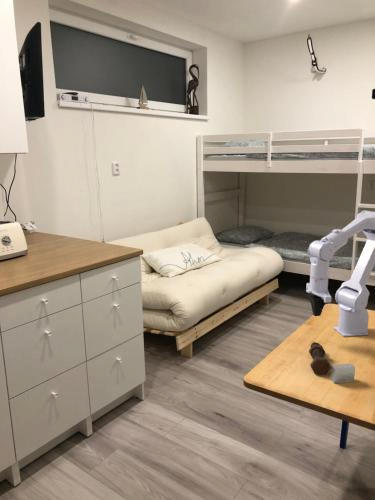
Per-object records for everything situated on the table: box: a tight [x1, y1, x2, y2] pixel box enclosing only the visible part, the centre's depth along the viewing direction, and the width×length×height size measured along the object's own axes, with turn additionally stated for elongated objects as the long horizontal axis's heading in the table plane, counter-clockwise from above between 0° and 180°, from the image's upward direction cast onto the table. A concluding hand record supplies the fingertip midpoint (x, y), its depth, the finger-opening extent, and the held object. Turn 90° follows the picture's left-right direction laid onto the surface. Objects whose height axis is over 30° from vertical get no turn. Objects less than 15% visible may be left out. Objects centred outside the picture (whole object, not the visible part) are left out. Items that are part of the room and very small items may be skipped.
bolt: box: [308, 341, 332, 376], centre depth 126 cm, size 6×5×15 cm
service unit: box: [330, 363, 356, 384], centre depth 116 cm, size 6×2×4 cm, turn 98°
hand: (316, 315), depth 138 cm, fingers closed
